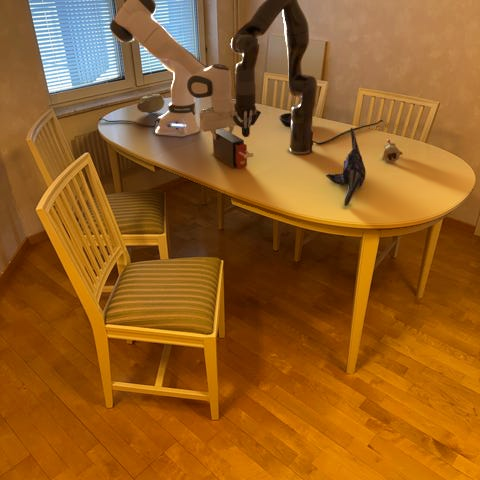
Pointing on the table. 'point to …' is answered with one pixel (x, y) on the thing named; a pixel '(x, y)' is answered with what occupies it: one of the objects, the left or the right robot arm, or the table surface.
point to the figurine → (391, 152)
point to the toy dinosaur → (351, 171)
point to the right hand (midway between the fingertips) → (245, 136)
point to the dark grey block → (226, 146)
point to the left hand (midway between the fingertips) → (222, 137)
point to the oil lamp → (286, 119)
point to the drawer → (241, 155)
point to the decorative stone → (151, 103)
